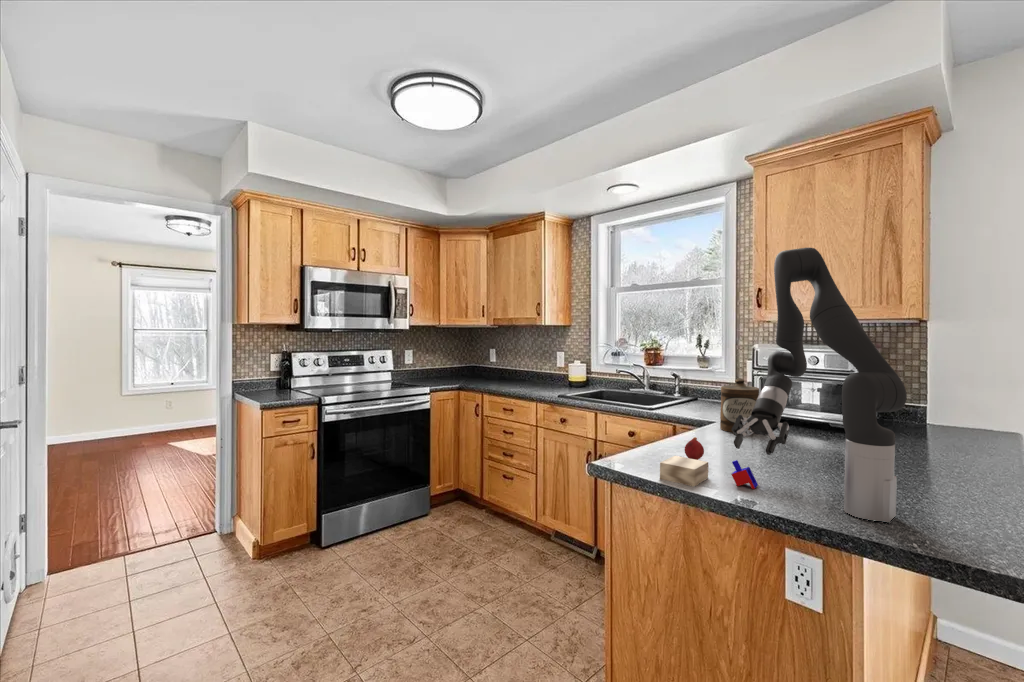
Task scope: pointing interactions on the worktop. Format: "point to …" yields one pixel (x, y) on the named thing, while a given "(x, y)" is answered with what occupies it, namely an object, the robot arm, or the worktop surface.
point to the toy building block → (743, 476)
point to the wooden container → (736, 403)
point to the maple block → (684, 470)
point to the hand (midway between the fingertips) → (751, 450)
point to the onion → (694, 449)
